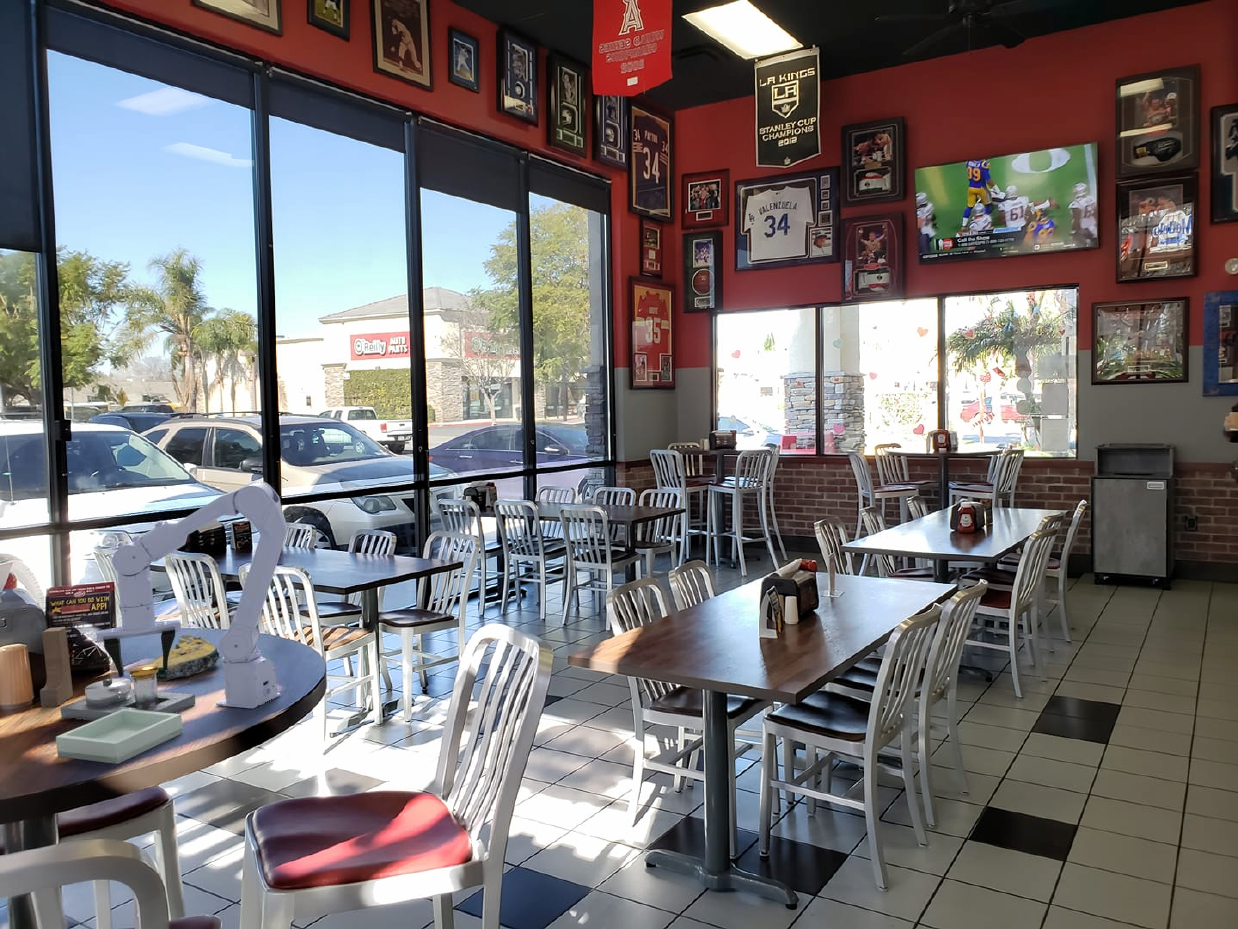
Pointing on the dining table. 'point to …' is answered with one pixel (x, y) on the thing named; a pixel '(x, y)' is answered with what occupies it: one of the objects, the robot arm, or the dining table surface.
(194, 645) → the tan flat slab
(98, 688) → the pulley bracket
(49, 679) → the wooden block
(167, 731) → the tray
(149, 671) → the pin
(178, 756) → the dining table surface
